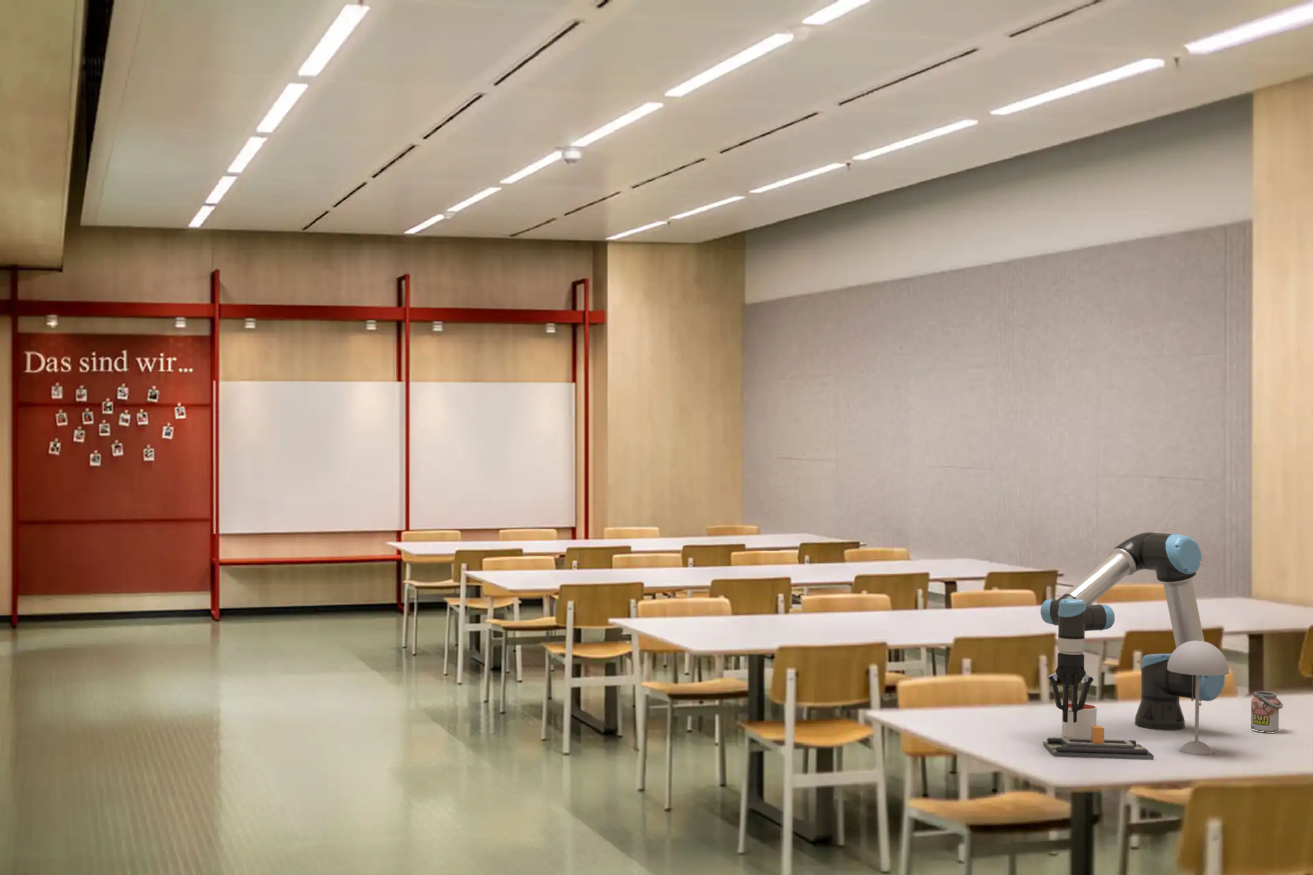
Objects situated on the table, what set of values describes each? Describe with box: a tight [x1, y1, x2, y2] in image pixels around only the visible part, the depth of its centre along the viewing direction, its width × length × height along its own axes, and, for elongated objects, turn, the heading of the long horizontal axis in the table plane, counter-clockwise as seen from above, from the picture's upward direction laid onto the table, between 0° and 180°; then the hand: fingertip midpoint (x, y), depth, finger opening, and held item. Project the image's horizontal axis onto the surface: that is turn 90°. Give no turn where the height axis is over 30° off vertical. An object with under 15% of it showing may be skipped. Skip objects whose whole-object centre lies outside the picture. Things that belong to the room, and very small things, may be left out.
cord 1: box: [1046, 737, 1137, 745], centre depth 441 cm, size 26×1×1 cm, turn 86°
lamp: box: [1167, 639, 1230, 756], centre depth 439 cm, size 17×17×33 cm
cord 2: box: [1056, 747, 1149, 754], centre depth 428 cm, size 26×1×1 cm, turn 86°
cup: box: [1061, 703, 1098, 739], centre depth 455 cm, size 10×10×10 cm
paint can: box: [1250, 691, 1284, 733], centre depth 473 cm, size 9×8×12 cm
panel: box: [1042, 737, 1155, 761], centre depth 435 cm, size 28×16×3 cm, turn 86°
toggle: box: [1089, 725, 1105, 743], centre depth 435 cm, size 4×3×6 cm
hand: (1069, 733), depth 435 cm, fingers closed
